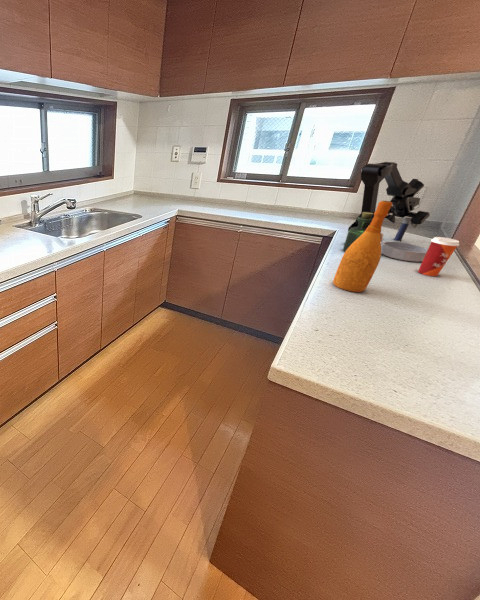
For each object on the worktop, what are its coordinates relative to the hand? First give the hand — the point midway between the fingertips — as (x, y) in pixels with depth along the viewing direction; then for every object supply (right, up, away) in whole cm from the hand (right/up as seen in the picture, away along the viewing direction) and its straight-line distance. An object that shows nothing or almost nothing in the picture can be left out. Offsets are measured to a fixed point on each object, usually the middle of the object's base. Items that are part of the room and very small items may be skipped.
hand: (404, 224), depth 167 cm
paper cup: (-29, -28, -38) cm, 56 cm away
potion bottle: (-41, -16, -15) cm, 46 cm away
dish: (-21, -19, -20) cm, 35 cm away
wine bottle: (-72, -34, -51) cm, 95 cm away
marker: (0, -7, +4) cm, 8 cm away
